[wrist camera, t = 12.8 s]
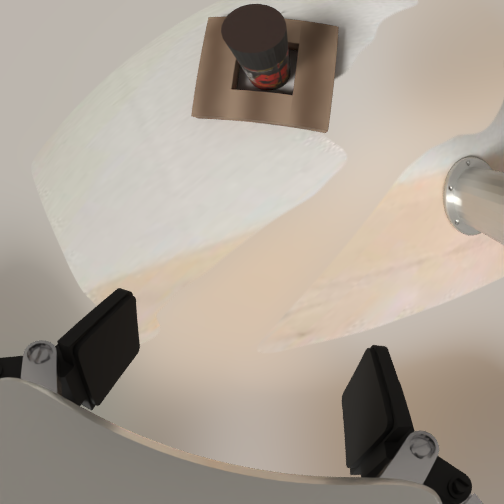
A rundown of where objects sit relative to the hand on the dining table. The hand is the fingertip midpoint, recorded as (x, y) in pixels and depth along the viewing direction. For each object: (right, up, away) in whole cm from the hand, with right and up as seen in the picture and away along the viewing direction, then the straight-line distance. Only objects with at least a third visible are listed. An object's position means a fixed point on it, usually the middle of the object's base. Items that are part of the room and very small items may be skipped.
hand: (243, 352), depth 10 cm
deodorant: (+3, +29, +22) cm, 37 cm away
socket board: (+3, +29, +22) cm, 37 cm away
